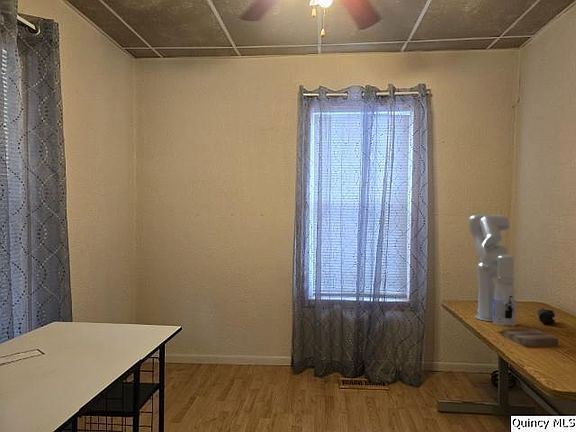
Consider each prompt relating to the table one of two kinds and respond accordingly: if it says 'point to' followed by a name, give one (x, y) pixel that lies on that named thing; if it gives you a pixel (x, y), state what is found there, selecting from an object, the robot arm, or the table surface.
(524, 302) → the table surface
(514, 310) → the ink cartridge box
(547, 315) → the end cap
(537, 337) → the walnut base
